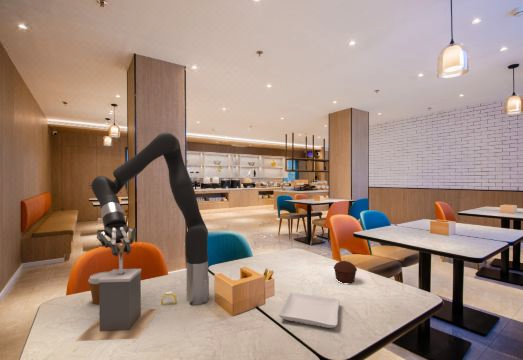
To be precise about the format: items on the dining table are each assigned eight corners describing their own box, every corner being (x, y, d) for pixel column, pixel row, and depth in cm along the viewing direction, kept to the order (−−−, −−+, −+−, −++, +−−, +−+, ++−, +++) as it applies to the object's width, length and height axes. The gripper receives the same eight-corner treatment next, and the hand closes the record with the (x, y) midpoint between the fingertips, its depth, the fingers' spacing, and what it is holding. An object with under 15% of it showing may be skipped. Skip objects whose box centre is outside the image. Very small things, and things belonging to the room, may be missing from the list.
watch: (176, 305, 113) (177, 291, 113) (175, 308, 110) (176, 293, 110) (161, 305, 112) (162, 291, 112) (160, 308, 110) (161, 293, 110)
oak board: (158, 311, 107) (158, 308, 107) (138, 341, 87) (138, 338, 87) (107, 312, 106) (107, 310, 106) (75, 343, 86) (75, 340, 86)
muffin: (359, 279, 140) (359, 261, 140) (354, 287, 130) (354, 266, 130) (336, 275, 146) (336, 257, 146) (330, 282, 137) (330, 262, 137)
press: (141, 315, 102) (141, 268, 102) (129, 330, 92) (129, 278, 92) (110, 316, 101) (109, 269, 101) (94, 331, 91) (94, 279, 91)
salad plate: (339, 306, 111) (339, 298, 111) (337, 334, 91) (337, 324, 91) (290, 299, 118) (290, 291, 118) (277, 324, 98) (277, 314, 98)
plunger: (134, 295, 100) (134, 241, 100) (126, 304, 93) (126, 246, 93) (116, 296, 100) (115, 241, 100) (106, 305, 93) (106, 246, 93)
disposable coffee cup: (102, 309, 109) (102, 280, 109) (82, 307, 111) (82, 278, 111) (119, 299, 118) (119, 272, 118) (100, 297, 120) (100, 270, 120)
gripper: (93, 212, 97) (102, 252, 88) (134, 209, 107) (145, 244, 98) (90, 224, 101) (98, 264, 92) (130, 220, 111) (140, 256, 102)
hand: (122, 254), depth 95 cm, fingers closed on plunger, 3 cm apart
